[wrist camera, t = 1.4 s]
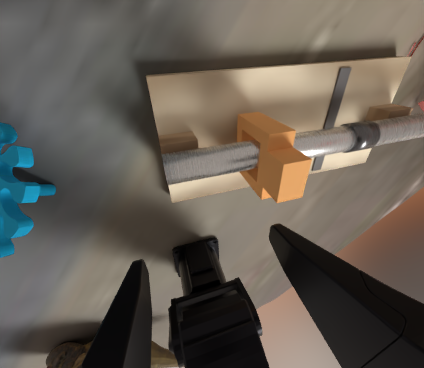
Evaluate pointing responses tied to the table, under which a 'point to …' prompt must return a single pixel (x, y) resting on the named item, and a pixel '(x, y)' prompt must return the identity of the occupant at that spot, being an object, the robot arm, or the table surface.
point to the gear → (16, 191)
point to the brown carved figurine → (75, 353)
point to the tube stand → (275, 117)
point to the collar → (274, 158)
